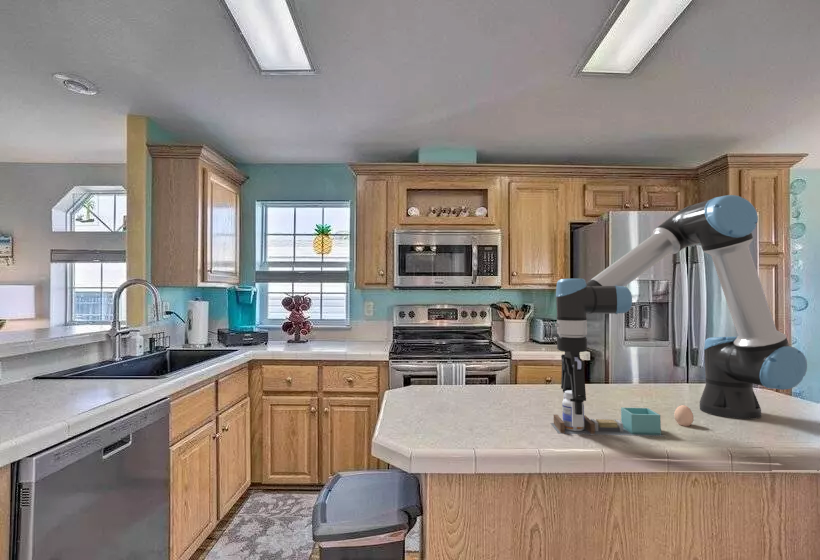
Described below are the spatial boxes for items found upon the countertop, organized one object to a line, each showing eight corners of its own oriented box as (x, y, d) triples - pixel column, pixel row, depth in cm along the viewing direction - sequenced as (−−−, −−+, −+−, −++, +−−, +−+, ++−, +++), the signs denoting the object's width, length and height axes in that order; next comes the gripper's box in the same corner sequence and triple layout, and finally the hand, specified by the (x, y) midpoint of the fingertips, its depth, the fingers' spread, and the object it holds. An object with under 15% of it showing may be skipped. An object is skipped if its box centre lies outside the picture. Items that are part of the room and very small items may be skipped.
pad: (613, 424, 115) (613, 419, 115) (617, 427, 112) (617, 422, 112) (596, 423, 115) (596, 419, 116) (599, 427, 112) (599, 422, 113)
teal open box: (648, 426, 116) (648, 408, 116) (660, 435, 109) (660, 415, 109) (621, 426, 117) (621, 407, 117) (631, 434, 110) (631, 414, 110)
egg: (696, 429, 115) (695, 407, 115) (677, 427, 116) (676, 406, 117) (691, 424, 119) (690, 403, 119) (672, 423, 121) (672, 402, 121)
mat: (648, 427, 117) (648, 425, 117) (664, 438, 108) (664, 436, 108) (550, 424, 120) (550, 423, 120) (558, 434, 111) (558, 433, 111)
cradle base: (618, 427, 115) (617, 419, 115) (623, 431, 112) (623, 423, 112) (590, 427, 116) (590, 418, 116) (595, 431, 112) (594, 422, 112)
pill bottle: (582, 425, 117) (581, 389, 117) (586, 432, 111) (585, 394, 112) (561, 425, 118) (560, 389, 118) (564, 431, 112) (563, 393, 113)
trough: (585, 424, 118) (585, 415, 118) (594, 433, 110) (594, 423, 110) (553, 423, 119) (553, 414, 119) (560, 432, 111) (560, 422, 111)
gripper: (549, 332, 126) (550, 411, 125) (567, 339, 106) (568, 433, 105) (575, 332, 125) (577, 411, 124) (598, 339, 105) (600, 434, 104)
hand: (573, 421), depth 115 cm, fingers open, 8 cm apart
